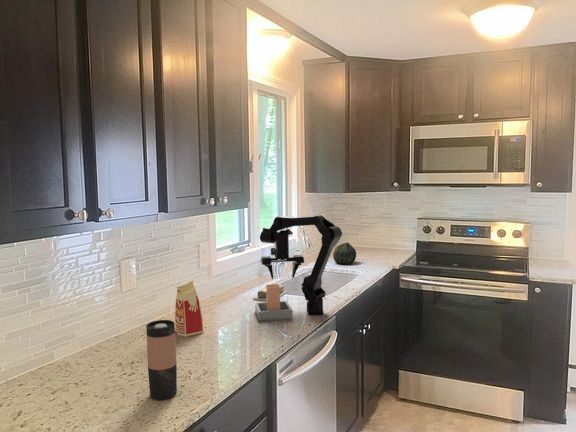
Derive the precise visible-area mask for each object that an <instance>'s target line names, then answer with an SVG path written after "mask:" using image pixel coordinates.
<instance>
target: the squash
mask: <svg viewBox="0 0 576 432" xmlns="http://www.w3.org/2000/svg"><path fill="white" fill-rule="evenodd" d="M332 256H333V260H334V262H335V263H337V264H340V265H341V264H343V265H346V266H347V265H351V264H354V262H356V258H357V251H356V249H355V248H354V247H353V246H352V244H351V243H349V242H344V243H341V244H339V245H337V246H336V247H335V249H334V251H333V254H332Z"/></svg>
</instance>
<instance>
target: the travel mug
mask: <svg viewBox="0 0 576 432" xmlns="http://www.w3.org/2000/svg"><path fill="white" fill-rule="evenodd" d="M145 328H146V350H147V351H146V352H147V372H148V373H147V374H148V385H149V386H148V388H149V397H150V398H151V399H152V400H153V401H166V400H170V399H172V398H174V397H176V395H177V393H178V392H177V390H178V389H177V388H178V387H177V386H178V384H177V382H178V381H177V379H178V378H177V377H178V373H177V372H178V371H177V369H178V368H177V347H176V330H175V321H173V320H170V319H158V320H154V321H150V322H148V323H147V324H146V327H145Z"/></svg>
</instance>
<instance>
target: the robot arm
mask: <svg viewBox="0 0 576 432" xmlns="http://www.w3.org/2000/svg"><path fill="white" fill-rule="evenodd" d="M300 226H314V227H315V228H316V229H317V231H318V232H319V234H320V235H321V239H320V240H321V246H320V249H319V253H318V255H317V257H316V260H315V262H314V266H313V267H312V269H311V270H312V271H311V274H310V275H307V276H304V277H303V282H302V283H301V292H302V293H303V295H304V299H305V301H306V313H307V315H309V316H310V315H311V316H312V315H314V316H316V315H324V309H323V308H324V298H325V297H326V294H327V292H326V291H325V290H324V288H323V287H322V284H323V282H322V281H323V280H322V277H323V274H324V273H325V272H324V271H325V268H326V267H327V263H328V261H329V258H330V256H331V254H332V251H333V249H334V247H335V246H336V245H337V244H338V243H339V241H340V240H341V238H342V236H343V232H342V230H341V228H340V226H337V225H336V224H334V222H331V221H330V220H328V219H327V218H325V217H324V216H323V215H320V214H319V215H312V216H298V217H297V216H296V217H295V216H291V215H282V216H276V217H275V218H274V219H273V222H272V224H271V226H270V227H263V228H262V231H261V232H260V235H259V240H260V242H261V243H262V244H264V243H265V244H275V247H271V248H270V255H269V256H267V255H266V256H265V255H264V256H263V255H262V256H261V257H260V263H261V265H263V266H264V267H267V269H268V272H269V274H270V277H271V280H274V270H273V265H272V263H281V262H283V263H285V262H287V263H288V262H292V271H291V272H292V273H291V278H292V279H294V278H295V276H296V273H297V271H298V268H299V266H301V265H302V264H305V257H304V256H303V255H302V254H293V256H290V249H289V248H290V245H289V244H290V243H289V242H290V241H289V239H290V237H289V236H291V235H293V234H294V233H293V231H292V230H291V229H290V228H292V227H300ZM271 256H274V257H271Z"/></svg>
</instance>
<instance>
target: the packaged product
mask: <svg viewBox="0 0 576 432" xmlns="http://www.w3.org/2000/svg"><path fill="white" fill-rule="evenodd" d="M273 284H274V283H272V284H271V285H273ZM277 284H278V283H277ZM278 285H279V287H280V298H281V297H283V296H284V295H286V294H287V293H288V291H287V290H286V291H285V290H284V285H282V284H278ZM252 300H253V301H259V302H260V301H261V302H267V294H266V287H264V288H262V289H260V290H258V291H257V295H255V296H253V297H252Z"/></svg>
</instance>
